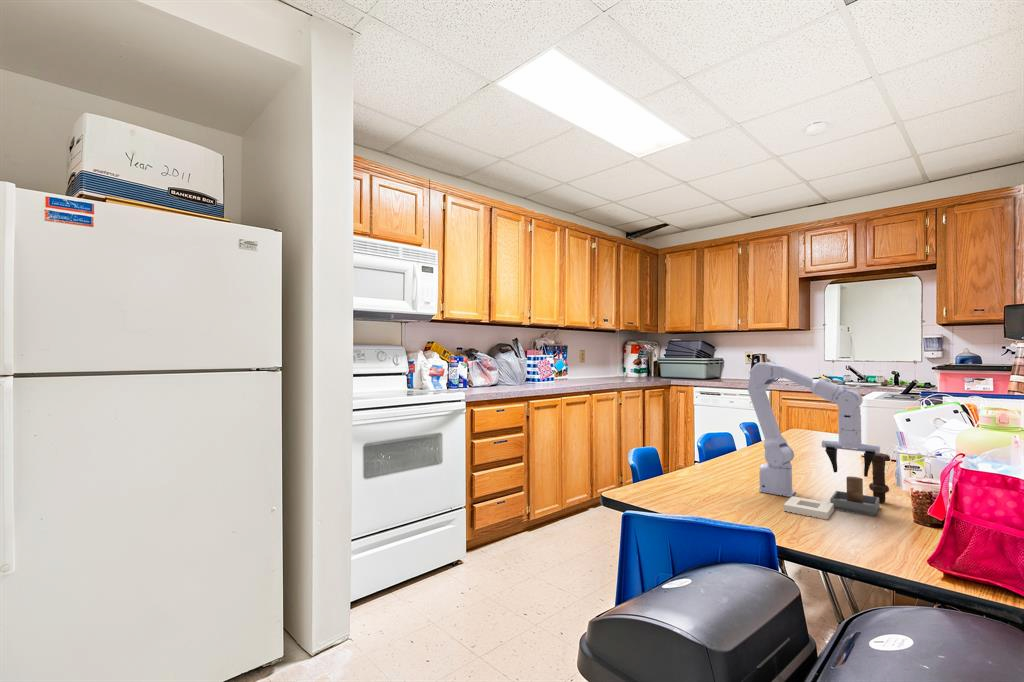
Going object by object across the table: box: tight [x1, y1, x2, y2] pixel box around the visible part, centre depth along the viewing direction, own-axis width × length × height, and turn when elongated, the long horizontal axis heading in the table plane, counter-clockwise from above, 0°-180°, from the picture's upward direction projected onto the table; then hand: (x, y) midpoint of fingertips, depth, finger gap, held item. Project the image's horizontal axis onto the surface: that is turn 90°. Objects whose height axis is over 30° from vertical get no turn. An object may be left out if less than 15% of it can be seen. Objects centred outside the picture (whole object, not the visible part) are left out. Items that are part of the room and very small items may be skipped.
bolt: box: [868, 452, 891, 504], centre depth 151 cm, size 6×5×15 cm
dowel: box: [846, 476, 864, 504], centre depth 145 cm, size 4×4×8 cm
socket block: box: [783, 495, 835, 521], centre depth 143 cm, size 11×11×2 cm
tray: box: [829, 490, 880, 517], centre depth 145 cm, size 11×11×3 cm
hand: (850, 473), depth 147 cm, fingers open, 7 cm apart
